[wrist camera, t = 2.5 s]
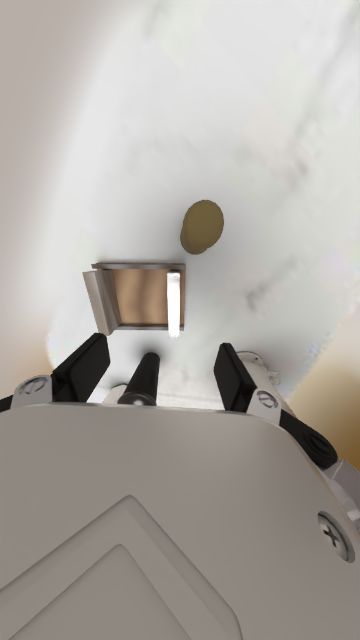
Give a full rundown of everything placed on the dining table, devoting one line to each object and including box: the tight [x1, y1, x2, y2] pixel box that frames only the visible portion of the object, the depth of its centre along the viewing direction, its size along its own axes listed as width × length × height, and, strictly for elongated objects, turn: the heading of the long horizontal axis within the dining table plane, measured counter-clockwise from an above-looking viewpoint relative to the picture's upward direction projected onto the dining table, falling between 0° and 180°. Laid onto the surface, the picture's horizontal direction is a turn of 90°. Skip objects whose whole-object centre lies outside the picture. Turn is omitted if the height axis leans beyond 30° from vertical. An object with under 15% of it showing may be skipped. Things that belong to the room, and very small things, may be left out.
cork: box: [180, 200, 224, 255], centre depth 21 cm, size 6×6×11 cm
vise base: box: [82, 263, 185, 336], centre depth 28 cm, size 18×14×7 cm
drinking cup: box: [117, 353, 160, 406], centre depth 29 cm, size 8×8×20 cm
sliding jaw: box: [167, 271, 180, 337], centre depth 27 cm, size 2×12×6 cm, turn 179°
